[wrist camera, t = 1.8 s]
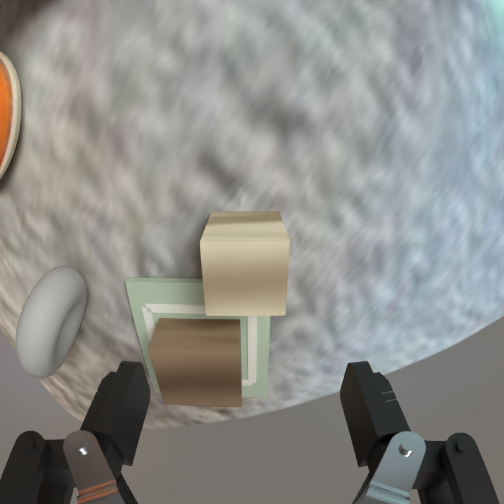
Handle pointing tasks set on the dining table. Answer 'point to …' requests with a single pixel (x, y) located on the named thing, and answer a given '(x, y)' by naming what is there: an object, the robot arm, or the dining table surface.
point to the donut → (50, 321)
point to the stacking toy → (8, 111)
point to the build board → (193, 307)
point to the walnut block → (198, 361)
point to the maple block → (245, 264)
